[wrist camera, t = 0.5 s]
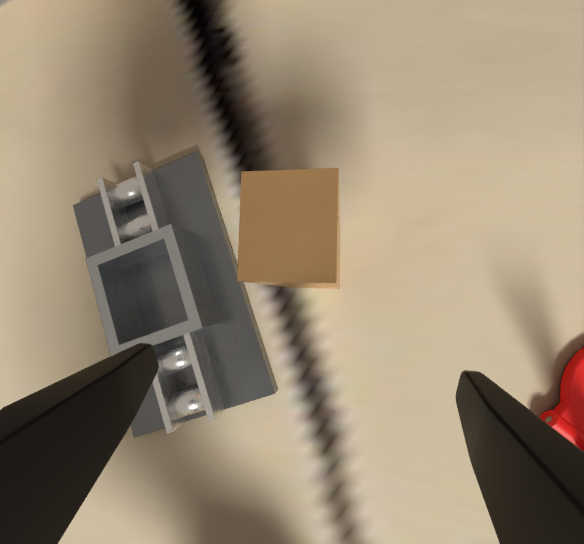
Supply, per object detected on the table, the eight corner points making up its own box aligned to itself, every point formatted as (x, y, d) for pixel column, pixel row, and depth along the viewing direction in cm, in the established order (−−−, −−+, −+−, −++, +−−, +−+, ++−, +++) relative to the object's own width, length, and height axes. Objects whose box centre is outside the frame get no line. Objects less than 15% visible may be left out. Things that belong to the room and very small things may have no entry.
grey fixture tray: (277, 389, 23) (265, 409, 19) (142, 431, 25) (104, 457, 21) (202, 156, 26) (177, 131, 22) (82, 208, 27) (38, 194, 23)
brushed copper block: (339, 288, 23) (336, 283, 10) (293, 287, 24) (237, 280, 11) (340, 236, 23) (338, 167, 10) (295, 236, 24) (241, 171, 11)
